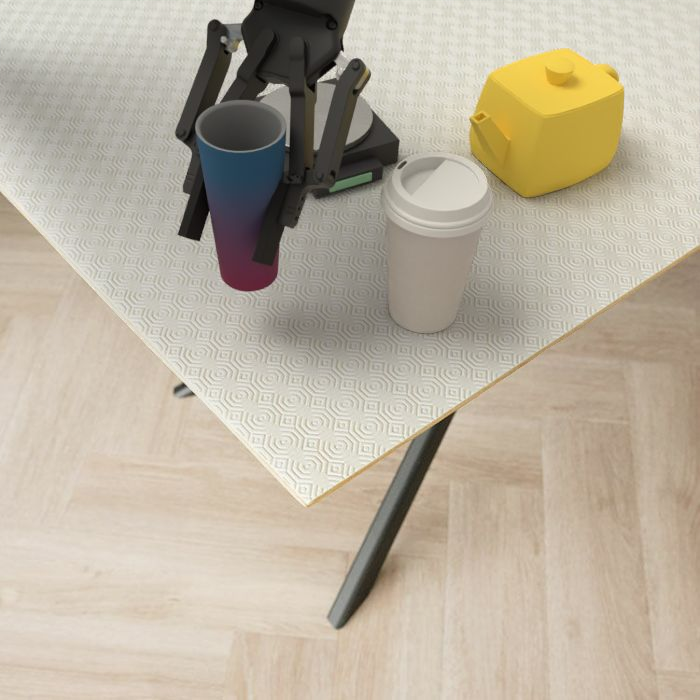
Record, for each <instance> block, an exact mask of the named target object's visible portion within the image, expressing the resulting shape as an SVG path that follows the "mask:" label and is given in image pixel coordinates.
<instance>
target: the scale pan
mask: <svg viewBox="0 0 700 700" xmlns="http://www.w3.org/2000/svg"><path fill="white" fill-rule="evenodd" d="M319 82H320V81H317V102H316V104H315V116H314V153H313V155H318V151H319V147H320V143H321V139H322V135H323V131H324V128H325V124H326V120H327V116H328V112H329V108H330V104H331V100H332V97H333V93H334V90H335V86H336V85H333V84H328V83H319ZM265 95H266V96H265V97H264V98H262V100H261V101H260V102H261V103H264V104H267V105H270V106H271V107H273V108H275V109H277V110H278V111H279V112H280V113H281V114H282V115H283V117H284V118H285V121H286V127H287V129H286V146H285V151H287V152H289V145H290V107H291V97H290V94H289V87H287V86H286V85H284V86H282V87H279V88H276V89H274V90H272V91H271V92H269V93H267V94H265ZM371 109H372V108H371V106H370V104H369V103H368V101H367V100H366V99H364V97H362V96H361V94H360V95H359V96H358V99H357V103H356V106H355V110H354V114H353V118H352V122H351V126H350V129H349V133H348V137H347V141H346V145H345V149H344V151H345V150H348V149H350V148H352V147H354V146H356V145H358V144H359V143H360V142H362V141H363V140H364V139H365V138H366V137H367V136H368V134H369V133H370V131H371V128H372V123H373V114H372V110H373V109H372V110H371Z"/></svg>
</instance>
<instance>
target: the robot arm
mask: <svg viewBox="0 0 700 700" xmlns="http://www.w3.org/2000/svg"><path fill="white" fill-rule="evenodd" d="M253 1H254V2H253V6H252V9H251V10H250V12H249V13H248V14H247V15H246V16H245V17H244V18H243V20H242V22H240V23H222V22H221V21H220V20H219V19H217V18H213V19H211V20H210V21H209V22H208V23H207V28H206V44H205V45H206V48H205V51H204V54H203V56H202V58H201V61H200V64H199V67H198V69H197V72H196V74H195V77H194V80H193V82H192V86H191V88H190V91H189V92H188V93H189V94H188V95H187V98H186V101H185V104H184V106H183V110H182V112H181V115H180V117H179V120H178V123H177V125H176V128H175V131H174V134H175V137H176V139H178V140H179V141H180V142H182V143H183V144H184V145H186V147H188V148H189V149H190V151H191V158H190V162H189V164H188V168H187V171H186V175H185V178H184V180H183V183H182V193H184V194H186V195H189V196H188V200H187V203H186V206H185V209H184V213H183V216H182V219H181V222H180V226H179V228H178V231H177V234H176V235H177V236H179V237H181V238H185V239H189V240H191V241H195V242H201V239H202V235H203V232H204V229H205V226H206V223H207V221H208V216H209V215H210V211H209V205H208V200H207V194H206V188H205V182H204V176H203V171H202V165H201V159H200V153H199V148H198V142H197V136H196V130H195V125H196V121H197V119H198V117H199V116H200V115H201V114H202V113H203V112H204V111H205V110H206V109H208V108H210V107H212V106H213V105H216V104H217V101H218V98H219V95H220V92H221V90H222V87H223V85H224V82H225V80H226V76H227V74H228V71H229V70H230V69H229V68H230V66H231V63H232V57H233V54H234V53H237V51H238V50H239V45H240V43H241V42H243V44H244V47H245V51H246V54H247V55H246V56H245V58H244V59H243V61H242V62H241V64H240V65H239V67H238V68H237V71H236V76H235V79H234V80H233V82H232V83H231V84H230V86H229V87H228V89H227V91H226V92H225V94H224V95H223V97H222V98H221V100H220V101H219V103H222V102H227V101H233V100H251V101H254V100H255V99H256V97H259V94H261V93H263V92H264V91H265V90H266V89H267V87H268V86H269V85H270V84H272V85H284V86H287V87H289V94H290V97H291V107H290V145H289V176H286V179H287V181H288V182H289V184H287V183H284V182H281V181H280V182H279V184H278V186H277V188H276V191H275V193H274V194H273V196H272V199H271V202H270V205H269V208H268V212H267V215H266V218H265V221H264V224H263V227H262V230H261V233H260V236H259V240H258V243H257V246H256V249H255V252H254V255H253V258H252V261H254V262H257V263H260V264H264V265H268V266H272V265H273V262H274V259H275V256H276V253H277V250H278V247H279V244H280V245H281V241H282V238H283V234H284V231H285V228H289V229H292V230H294V229H295V228H296V226H297V225H298V224H299V220H300V217H301V214H302V211H303V208H304V205H305V202H306V199H307V196H308V194H309V193H310V192H311V191H310V190H312V189H315V188H327V189H330V188H332V187H333V186H334V185H335V183H336V179H337V175H338V172H339V168H340V164H341V160H342V156H343V152H344V149H345V145H346V141H347V137H348V133H349V129H350V126H351V122H352V118H353V114H354V110H355V106H356V103H357V99H358V96H359V95H360V96H361V93H362V92H363V91H364V89H365V87H366V86H367V84H368V82H369V81H370V80H371V77H372V72H371V70H370V69H369V67H368V66H367V65H366V63H365V62H364V61H363V60H362V59H361V58H359V57H355V58H354V57H352V56H351V55H349V54H348V53H346V52H345V47H344V35H345V33H346V30H347V28H348V25H349V21H350V19H351V15H352V13H353V9H354V6H355V3H356V0H253ZM335 67H336V71H335V78H336V79H337V80H338V82H337V84H336V86H335V90H334V93H333V97H332V100H331V104H330V108H329V112H328V116H327V120H326V124H325V128H324V131H323V135H322V139H321V143H320V147H319V151H318V155H317V158H316V162H315V166H314V170H313V153H314V116H315V104H316V102H317V82H318V81H319V80H320V79H321V78H323V77H324V76H325V75H326V74H327V73H328V72H330V71H331V70H332V69H333V68H335Z"/></svg>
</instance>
